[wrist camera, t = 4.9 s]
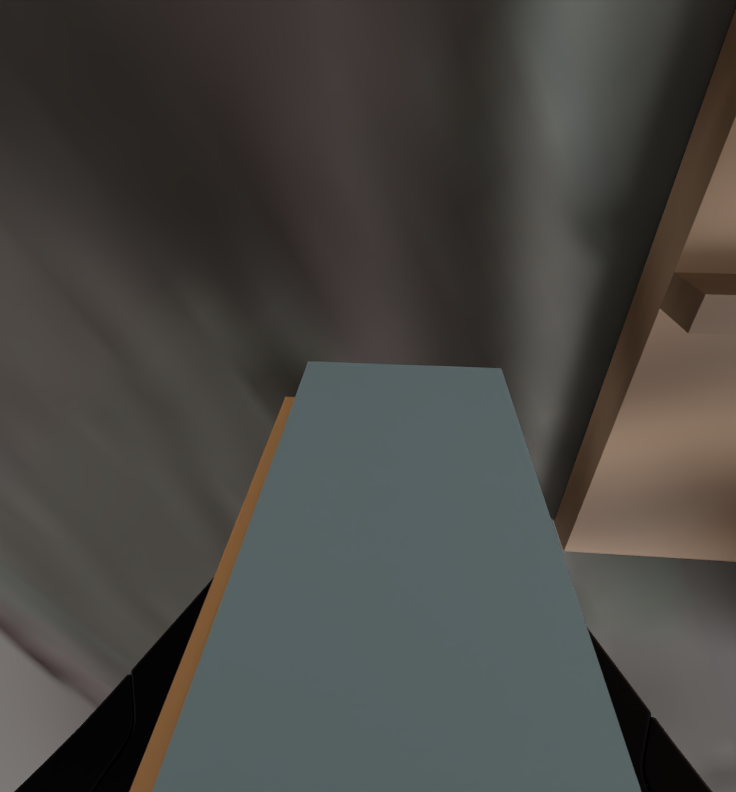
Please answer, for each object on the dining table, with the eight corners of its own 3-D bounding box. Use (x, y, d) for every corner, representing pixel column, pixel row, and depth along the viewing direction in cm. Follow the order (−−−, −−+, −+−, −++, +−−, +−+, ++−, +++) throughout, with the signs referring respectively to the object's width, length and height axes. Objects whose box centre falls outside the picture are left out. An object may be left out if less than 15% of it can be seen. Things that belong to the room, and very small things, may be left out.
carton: (501, 368, 9) (812, 1313, 2) (463, 562, 12) (531, 1146, 5) (293, 360, 9) (-51, 1178, 2) (314, 553, 12) (205, 1100, 6)
